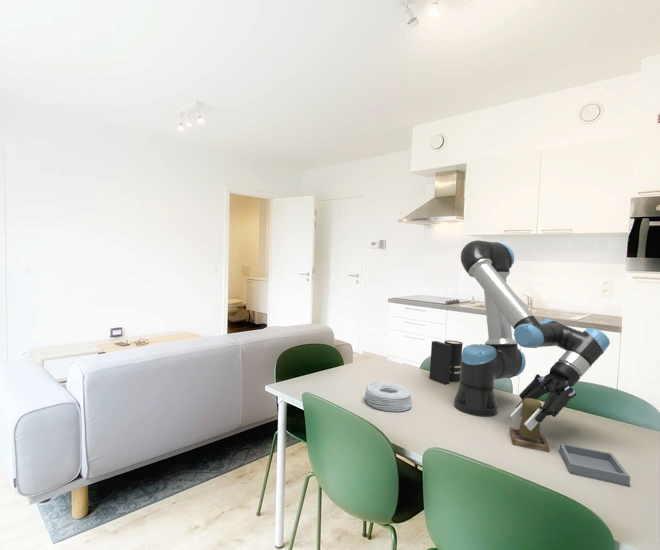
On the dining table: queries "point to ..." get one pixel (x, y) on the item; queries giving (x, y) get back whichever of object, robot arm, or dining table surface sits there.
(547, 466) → the dining table surface
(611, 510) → the dining table surface
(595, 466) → the tray
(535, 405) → the cork
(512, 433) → the socket holder
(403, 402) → the cable
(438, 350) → the light fixture
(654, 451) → the dining table surface
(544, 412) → the robot arm
